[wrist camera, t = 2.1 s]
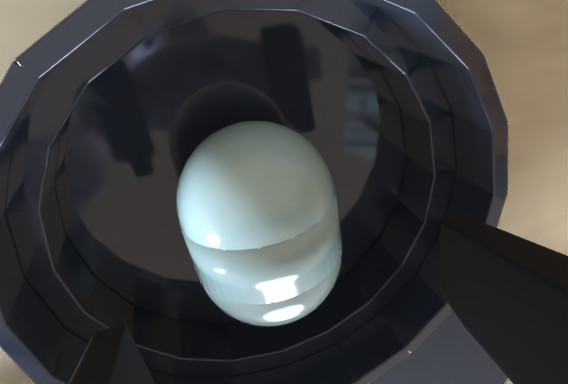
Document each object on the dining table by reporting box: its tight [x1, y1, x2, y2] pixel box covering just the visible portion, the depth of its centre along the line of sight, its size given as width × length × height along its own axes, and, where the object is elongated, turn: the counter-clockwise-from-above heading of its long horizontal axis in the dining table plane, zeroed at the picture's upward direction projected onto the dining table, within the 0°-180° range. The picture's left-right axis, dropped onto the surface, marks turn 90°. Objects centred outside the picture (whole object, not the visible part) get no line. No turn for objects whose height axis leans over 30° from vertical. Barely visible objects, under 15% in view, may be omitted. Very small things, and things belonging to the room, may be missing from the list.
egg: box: [176, 120, 342, 327], centre depth 13 cm, size 6×4×4 cm
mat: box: [369, 311, 508, 384], centre depth 22 cm, size 10×10×1 cm
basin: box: [0, 0, 508, 384], centre depth 13 cm, size 14×14×4 cm
